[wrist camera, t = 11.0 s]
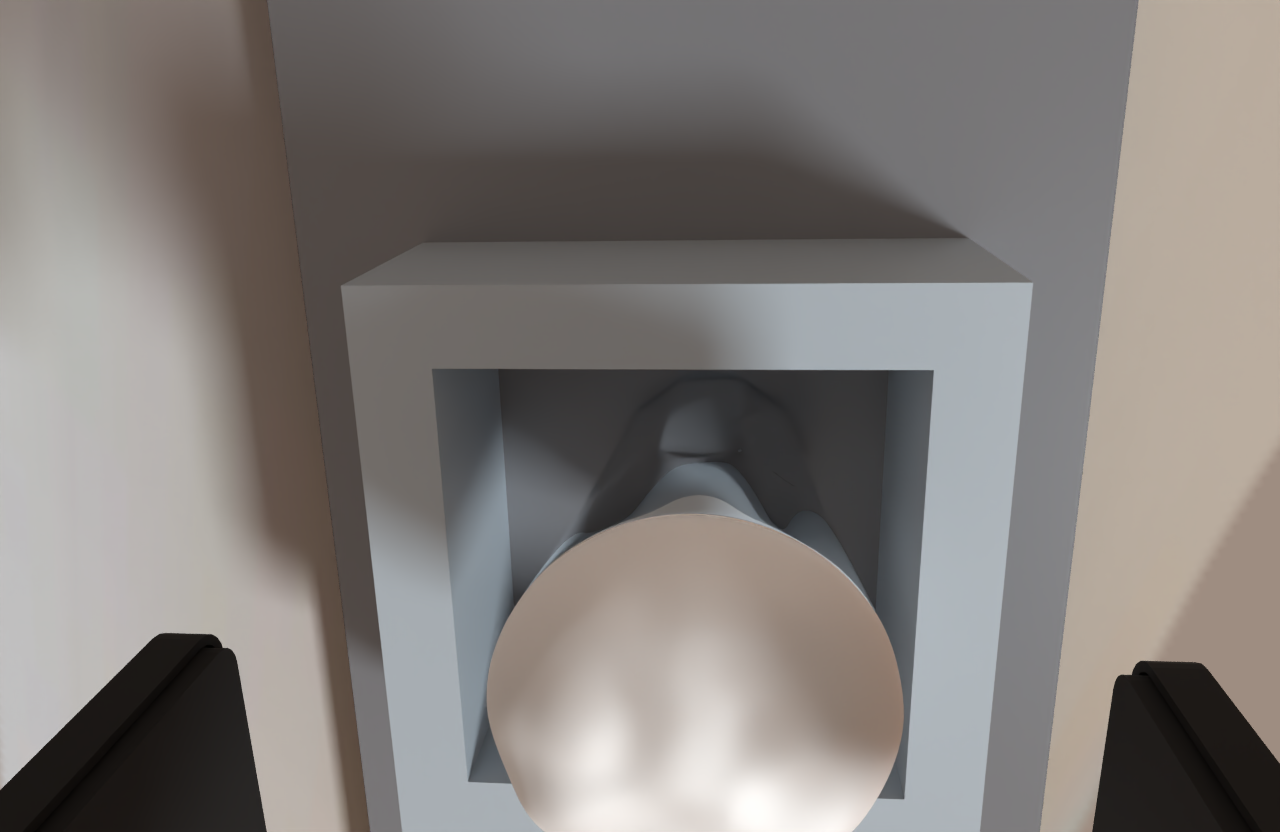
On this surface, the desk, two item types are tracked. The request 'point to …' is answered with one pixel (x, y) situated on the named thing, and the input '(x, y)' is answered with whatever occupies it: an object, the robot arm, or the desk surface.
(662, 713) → the milkshake
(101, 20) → the desk surface
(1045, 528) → the housing
